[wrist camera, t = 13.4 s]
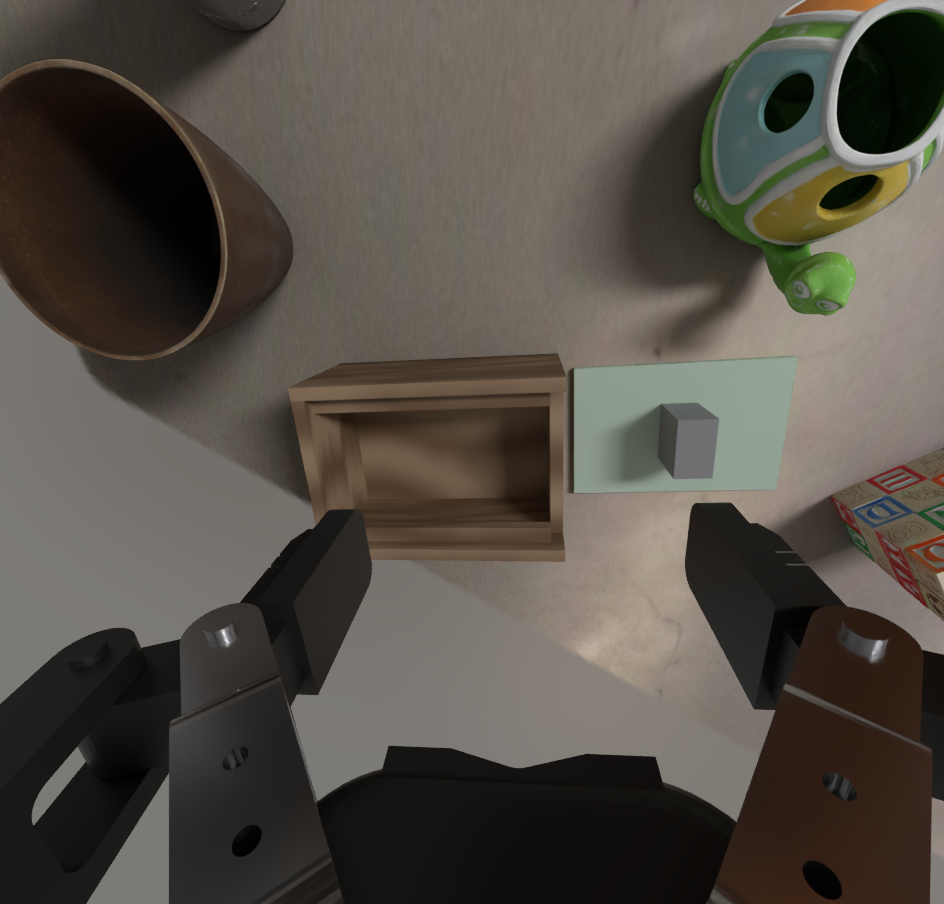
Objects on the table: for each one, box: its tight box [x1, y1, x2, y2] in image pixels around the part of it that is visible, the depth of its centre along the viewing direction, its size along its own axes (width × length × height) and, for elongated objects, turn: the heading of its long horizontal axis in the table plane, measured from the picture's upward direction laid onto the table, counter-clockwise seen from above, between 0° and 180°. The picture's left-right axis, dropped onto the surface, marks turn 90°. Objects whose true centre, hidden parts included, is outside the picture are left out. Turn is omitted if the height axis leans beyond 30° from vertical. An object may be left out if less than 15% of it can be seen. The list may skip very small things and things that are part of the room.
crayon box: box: [288, 354, 566, 562], centre depth 40 cm, size 15×20×10 cm
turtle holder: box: [693, 0, 944, 315], centre depth 29 cm, size 12×18×12 cm
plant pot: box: [0, 59, 293, 360], centre depth 33 cm, size 15×15×16 cm
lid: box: [574, 356, 798, 493], centre depth 39 cm, size 12×18×6 cm, turn 94°
